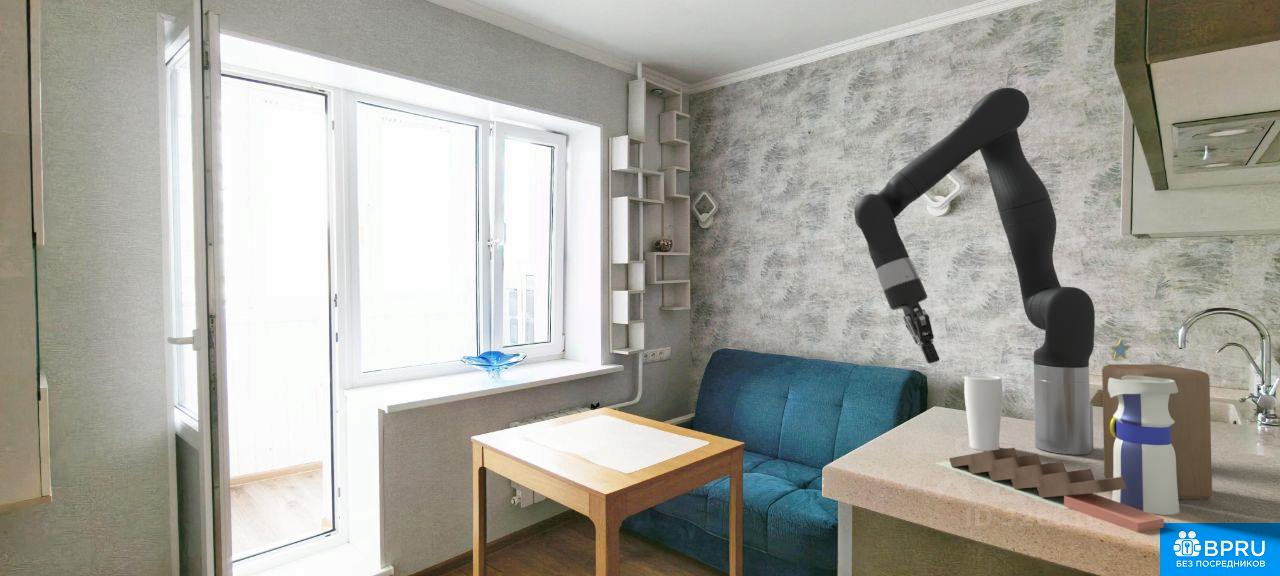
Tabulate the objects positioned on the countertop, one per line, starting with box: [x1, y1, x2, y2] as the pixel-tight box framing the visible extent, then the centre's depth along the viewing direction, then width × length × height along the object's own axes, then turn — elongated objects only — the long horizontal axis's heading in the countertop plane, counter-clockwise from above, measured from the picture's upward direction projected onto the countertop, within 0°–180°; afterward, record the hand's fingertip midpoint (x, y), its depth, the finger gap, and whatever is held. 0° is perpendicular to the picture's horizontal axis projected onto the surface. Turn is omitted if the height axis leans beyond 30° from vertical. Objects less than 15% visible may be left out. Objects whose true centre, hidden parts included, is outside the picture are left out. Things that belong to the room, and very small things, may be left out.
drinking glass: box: [963, 374, 1003, 452], centre depth 121 cm, size 7×7×15 cm
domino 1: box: [948, 447, 1018, 467], centre depth 105 cm, size 5×2×10 cm
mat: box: [934, 460, 1071, 510], centre depth 100 cm, size 7×25×1 cm, turn 17°
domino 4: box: [1011, 468, 1096, 489], centre depth 93 cm, size 5×2×10 cm
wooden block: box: [1101, 363, 1213, 501], centre depth 96 cm, size 10×10×20 cm
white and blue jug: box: [1108, 338, 1180, 516], centre depth 88 cm, size 8×9×25 cm
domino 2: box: [968, 453, 1042, 474], centre depth 101 cm, size 5×2×10 cm
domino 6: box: [1064, 493, 1165, 533], centre depth 84 cm, size 5×2×10 cm
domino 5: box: [1037, 477, 1127, 498], centre depth 88 cm, size 5×2×10 cm
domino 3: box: [988, 460, 1068, 481], centre depth 97 cm, size 5×2×10 cm
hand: (933, 362), depth 120 cm, fingers closed
